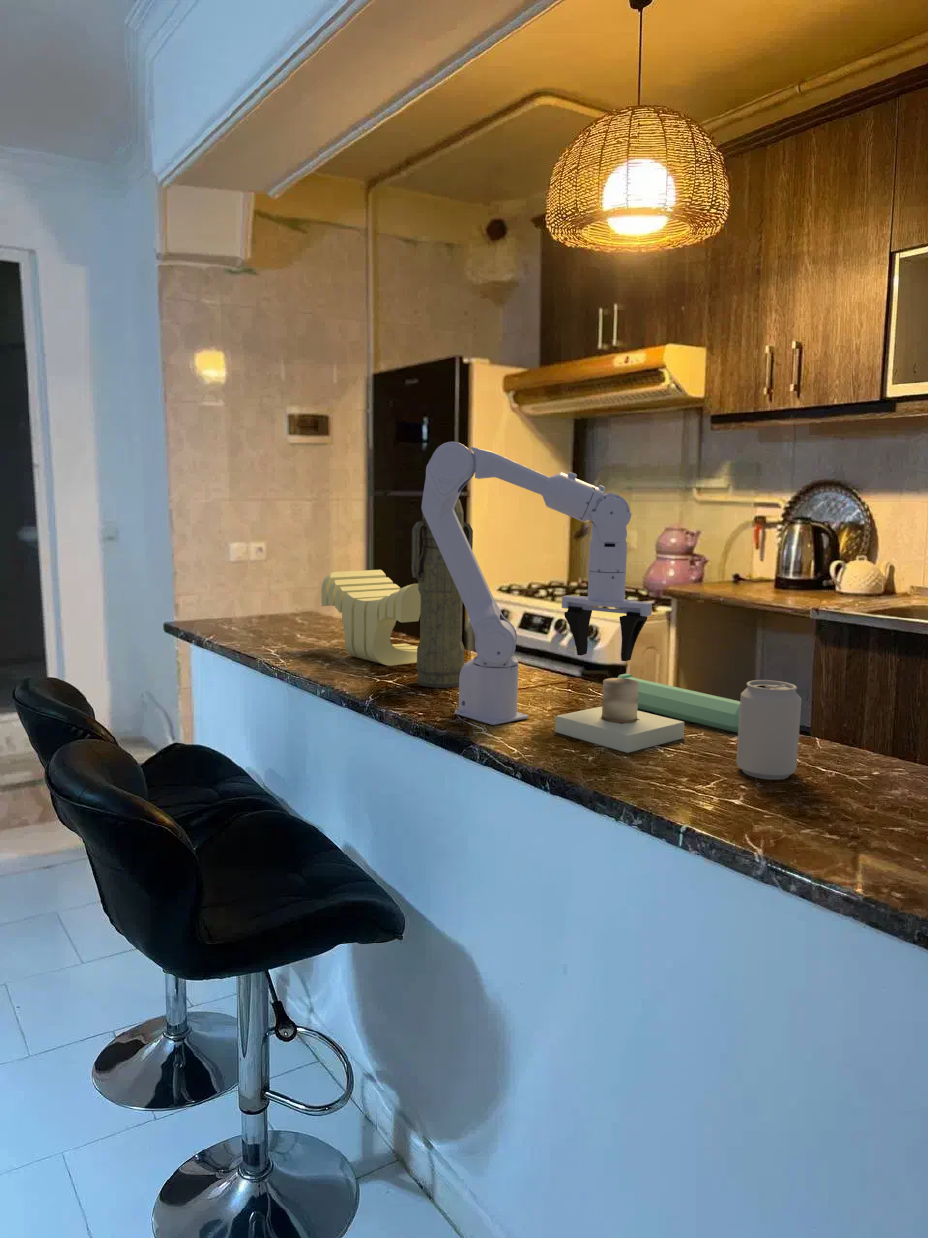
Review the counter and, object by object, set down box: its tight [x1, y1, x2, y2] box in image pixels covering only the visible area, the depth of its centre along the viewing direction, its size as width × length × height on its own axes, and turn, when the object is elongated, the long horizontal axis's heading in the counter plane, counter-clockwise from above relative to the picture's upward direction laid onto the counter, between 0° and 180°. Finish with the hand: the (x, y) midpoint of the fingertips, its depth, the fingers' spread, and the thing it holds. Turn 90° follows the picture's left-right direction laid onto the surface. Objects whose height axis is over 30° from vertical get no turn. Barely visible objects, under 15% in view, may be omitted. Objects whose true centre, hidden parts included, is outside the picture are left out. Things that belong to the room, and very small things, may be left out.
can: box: [736, 679, 802, 781], centre depth 119 cm, size 8×8×12 cm
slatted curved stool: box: [320, 569, 421, 667], centre depth 195 cm, size 30×16×18 cm, turn 40°
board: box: [554, 705, 685, 754], centre depth 137 cm, size 14×13×2 cm
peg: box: [601, 677, 639, 724], centre depth 136 cm, size 5×5×8 cm
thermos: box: [411, 498, 474, 689], centre depth 170 cm, size 9×12×35 cm
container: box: [617, 673, 740, 734], centre depth 148 cm, size 6×6×25 cm
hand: (603, 657), depth 143 cm, fingers open, 7 cm apart
